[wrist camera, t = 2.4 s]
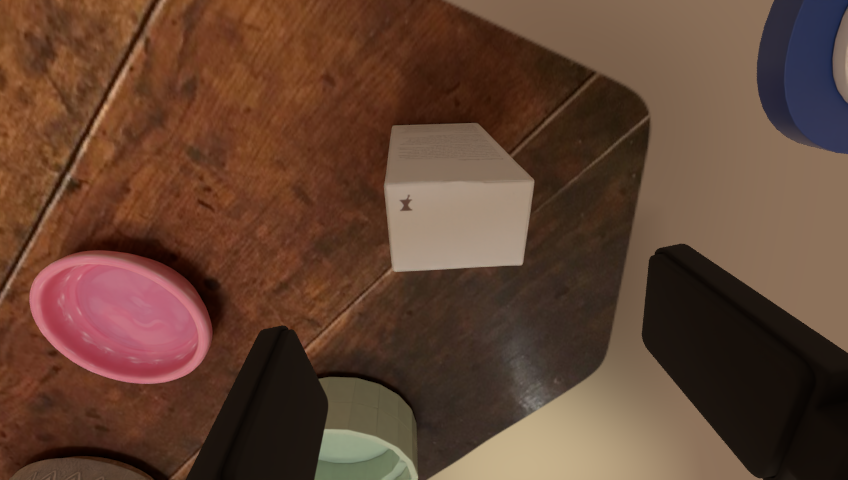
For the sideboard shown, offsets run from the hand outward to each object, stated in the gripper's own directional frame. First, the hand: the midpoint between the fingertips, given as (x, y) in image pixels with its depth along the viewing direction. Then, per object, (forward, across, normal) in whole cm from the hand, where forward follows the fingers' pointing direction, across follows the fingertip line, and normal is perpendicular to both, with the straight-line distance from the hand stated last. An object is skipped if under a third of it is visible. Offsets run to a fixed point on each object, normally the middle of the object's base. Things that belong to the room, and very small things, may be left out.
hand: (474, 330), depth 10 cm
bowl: (+18, +14, +26) cm, 35 cm away
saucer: (+19, +25, +7) cm, 32 cm away
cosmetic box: (+18, -1, 0) cm, 18 cm away
